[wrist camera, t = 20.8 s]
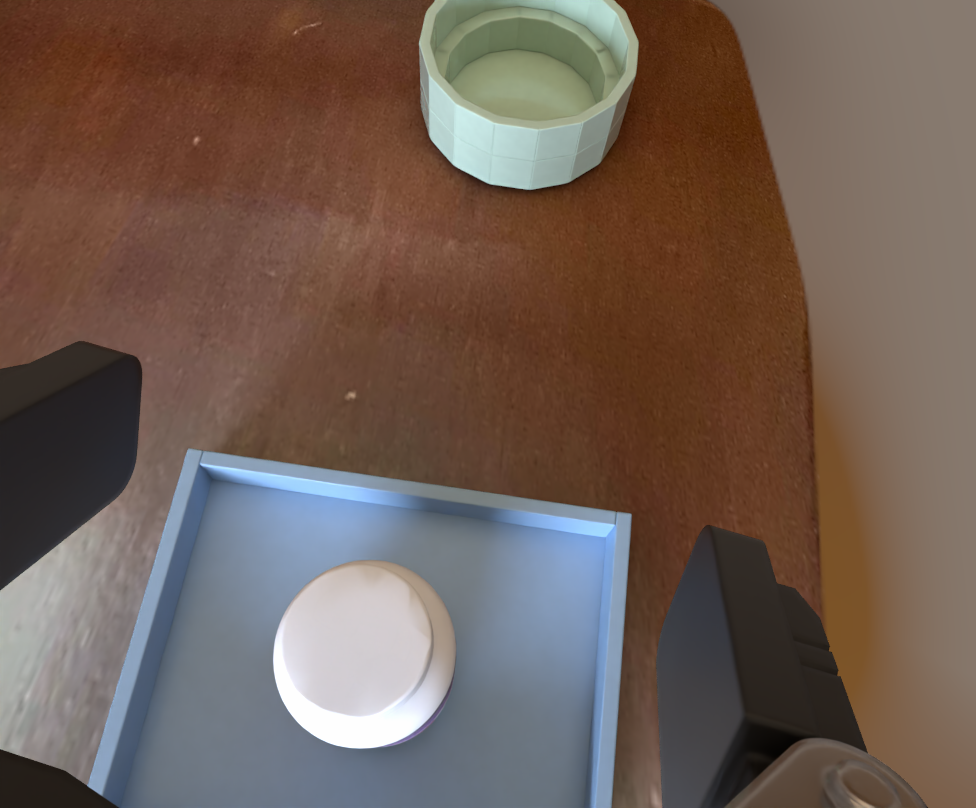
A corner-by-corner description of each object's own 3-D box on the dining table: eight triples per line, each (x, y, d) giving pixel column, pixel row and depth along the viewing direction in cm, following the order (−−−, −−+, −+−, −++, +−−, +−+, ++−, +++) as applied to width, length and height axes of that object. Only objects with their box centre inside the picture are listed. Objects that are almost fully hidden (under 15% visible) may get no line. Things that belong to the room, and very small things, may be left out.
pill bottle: (465, 607, 31) (474, 555, 22) (440, 758, 29) (440, 767, 20) (327, 584, 31) (280, 522, 22) (292, 733, 29) (225, 731, 20)
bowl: (624, 53, 43) (644, -20, 39) (610, 206, 39) (630, 143, 35) (439, 26, 43) (439, -50, 39) (407, 176, 39) (403, 110, 35)
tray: (619, 528, 33) (632, 513, 31) (591, 897, 28) (605, 912, 26) (205, 467, 33) (187, 447, 31) (102, 824, 28) (72, 833, 26)
